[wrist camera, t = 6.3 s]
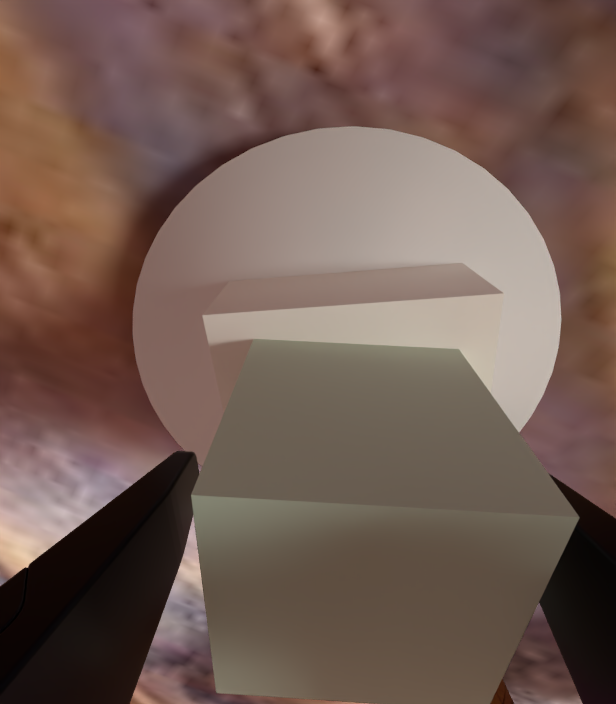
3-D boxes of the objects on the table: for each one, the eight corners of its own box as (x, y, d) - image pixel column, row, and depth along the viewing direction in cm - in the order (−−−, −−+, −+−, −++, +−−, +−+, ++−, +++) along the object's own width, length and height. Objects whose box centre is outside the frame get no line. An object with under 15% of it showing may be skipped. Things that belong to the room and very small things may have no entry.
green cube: (424, 499, 12) (486, 711, 7) (257, 490, 12) (216, 692, 7) (459, 349, 9) (579, 517, 5) (253, 338, 10) (190, 494, 5)
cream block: (446, 449, 15) (474, 514, 12) (261, 457, 15) (248, 522, 12) (462, 262, 12) (503, 293, 9) (229, 280, 12) (202, 315, 9)
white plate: (489, 493, 17) (503, 521, 16) (178, 482, 18) (166, 508, 16) (594, 132, 11) (631, 128, 10) (114, 128, 12) (87, 123, 10)
